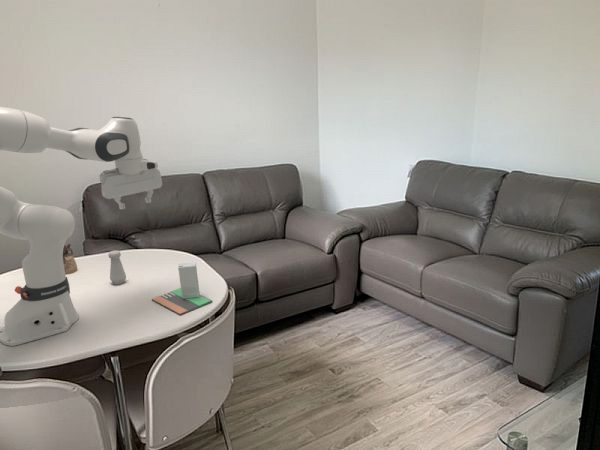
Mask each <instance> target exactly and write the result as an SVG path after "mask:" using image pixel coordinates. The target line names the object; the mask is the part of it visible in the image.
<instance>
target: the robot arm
mask: <svg viewBox="0 0 600 450" xmlns="http://www.w3.org/2000/svg"><path fill="white" fill-rule="evenodd" d="M139 131H140V130H139V127H138V124H137V122H136V120H135V119H133V118H131V117H126V116H125V117H123V116H112V117H111V118H109V121H108V122H107V123H106V124H105V125H103V126H102V127H101V128H99V129H91V128H85V127H76V128H73V129H69V130H67V129H61V128H57V127H51V126H50V124H49V123H48V121H47V119H45V117H42V116H40V115H38V114H35V113H34V112H33V113H32V112H30V111H27V110H23V109H17V108H12V107H8V106H7V107H5V106H0V151H7V152H11V153H12V152H14V153H20V154H21V153H23V154H35V153H36V154H37V153H38V154H39V153H42V152H44V151H45V150H46V149H52V150H58V151H59V150H60V151H64V152H66V153H68V154H69V155H72V157H74V158H77V159H79V160H89V161H96V162H102V163H103V162H104V163H110V162H114V165H115V168H113V169H109V170H107V169H106V170H103V171H102V172H101V173H100V175H99V181H100V183H101V185H100V187H101V195H102V197H103V198H104V199H107V200H111V199H113V200H114V201H115V202H116V203H117V204H118V208H119V210H126V204H125V203H124V202H121V200H122V197H125V196H126V197H127V196H131V195H135V194H139V193H143V192H146V193H147V194H146V197H144V203H146V204H150V203H152V197H153V194H154V190H157V189H161V187H162V186H163V180H162V175H161V172H160V170H159V168H158V167H159V164H158V162H157V161H153V160H150V159H145V158H143V154H142V151H141V143H142V142H141V137H140V132H139ZM75 220H76V219H75V217H74V216H73V214H72V212H71V211H70V210H68V209H65V208H62V207H61V206H60V207H59V206H56V205H51V204H50V205H49V204H34V203H30V202H29V203H28V202H24V201H21V200H19V199H18V198H17V196H16V195H15V194H14V192H13V191H11V190H9V189H8V188H7V189H6V188H4V187H3V186H1V185H0V234H1V235H2V236H5V237H7V238H11V239H14V240H24V241H28V242H29V253H28V254H27V255H26V256H25V257H24V258H23V259H22V260H21V268H22V272H23V278H24V281H25V285H24V286H23V287H21V286H20V285H17V286H16V287H15V288H14V292H15V293H16V294H18V295H20V299H19V300H18V301H17V302H16V303H15V304H14V305H13V306H12V307H11V308H10V309H9V310H8V311H7V312H6V313H5V316H4V320H3V322H4V323H3V325H4V327H0V342H1V343H2V344H3V345H5V346H9V347H10V346H11V347H13V346H14V347H15V346H19V345H22V344H26V343H29V342H32V341H36V340H40V339H43V338H46V337H51V336H53V335H57V334H61V333H64V332H67V331H69V330H70V328H71V326H72V325H73V324H75V323H76V322H77V321H78V320H79V316H80V315H79V314H78V312H77V311H76V308H75V307H74V303H73V300H72V298H71V295H70V293H71V291H70V290H71V288H70V283H69V279H68V277H67V276H66V275H65V270H64V264H63V248H64V245H66V241H67V240H68V239H69V238H70V237H71V236H72V235H73V233H74V230H75V229H76V228H75V227H76V222H75Z"/></svg>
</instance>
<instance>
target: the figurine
mask: <svg viewBox="0 0 600 450" xmlns="http://www.w3.org/2000/svg"><path fill="white" fill-rule="evenodd" d="M71 245H72V244H71V243H68V244H64V248H63V264H64V270H65V276H66V275H70V274H74V273H76V272H77V271H78V265H77V262H76V260H75V257H74V255H73V254H74V251H73V249H72V248H71ZM69 251H70V253H69Z"/></svg>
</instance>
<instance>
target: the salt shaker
mask: <svg viewBox="0 0 600 450" xmlns="http://www.w3.org/2000/svg"><path fill="white" fill-rule="evenodd" d="M121 254H122V253H121V251H119V250H111V251H109V252H108V258H109V259H110V269H109V270H110V271H109V272H110V275H109V280H110V282H111V283H112V285H114V286H115V285H116V286H119V285H123V284H124V283H125V281H126V278H127V275H126V272H125V269H124V266H123V264H122V261H121V258H120V257H121V256H122V255H121Z"/></svg>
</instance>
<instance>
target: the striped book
mask: <svg viewBox="0 0 600 450" xmlns="http://www.w3.org/2000/svg"><path fill="white" fill-rule="evenodd" d="M151 301H152V302H154V303H156V304H157V305H160V306H161V307H163V308H165V309H167V310H168V311H171V312H173V313H175V314H176V315H178V316H182V315H185V314H188V313H189V312H190V313H191V312H192V311H195V310H198V309H199V308H202V307H204V306H206V305H209V304H212V303H213V300H212V299H210V298H208V297H206V296H203V295H201V294H200V295H199V297H194V298H186V299H182V291H181V287H179V288H177V289H173V290H171V291H169V292H166V293H164V294H161V295H158V296H155V297H152V298H151Z"/></svg>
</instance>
